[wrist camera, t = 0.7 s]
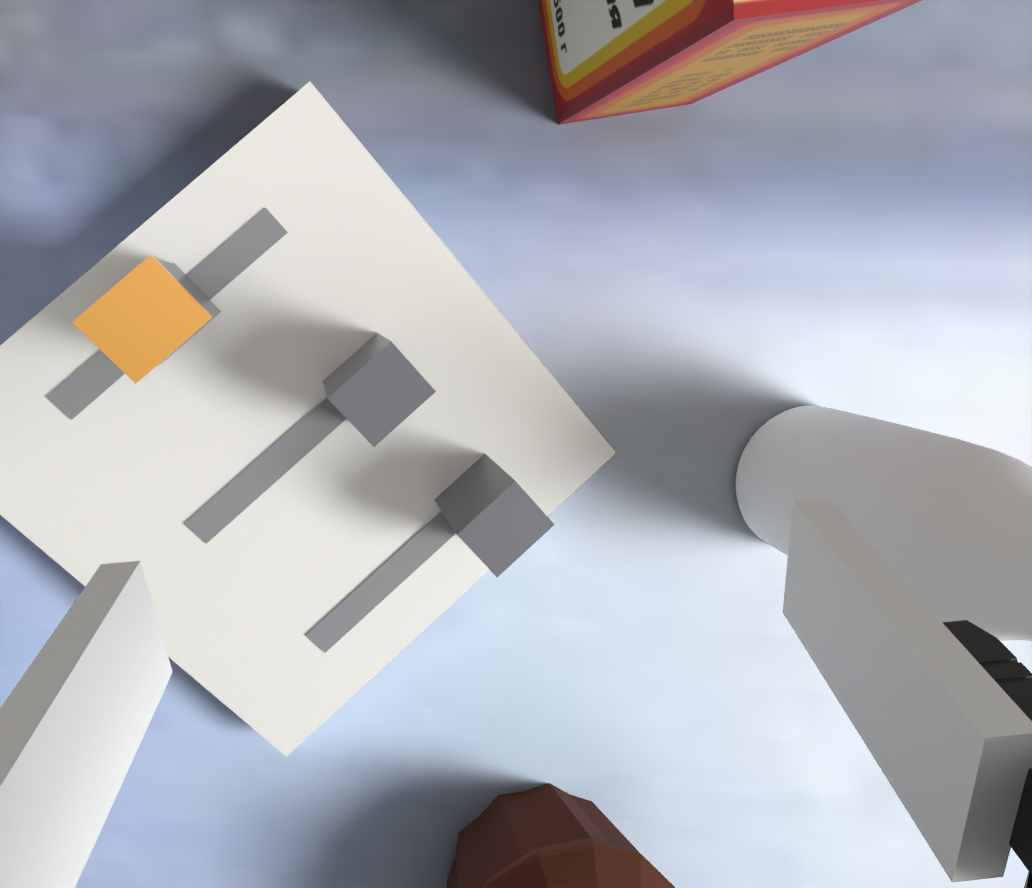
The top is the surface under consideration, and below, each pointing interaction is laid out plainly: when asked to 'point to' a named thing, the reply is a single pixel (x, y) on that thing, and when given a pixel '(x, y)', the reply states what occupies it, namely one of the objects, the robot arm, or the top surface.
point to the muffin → (548, 846)
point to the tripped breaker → (146, 317)
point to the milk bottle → (904, 507)
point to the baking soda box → (681, 46)
